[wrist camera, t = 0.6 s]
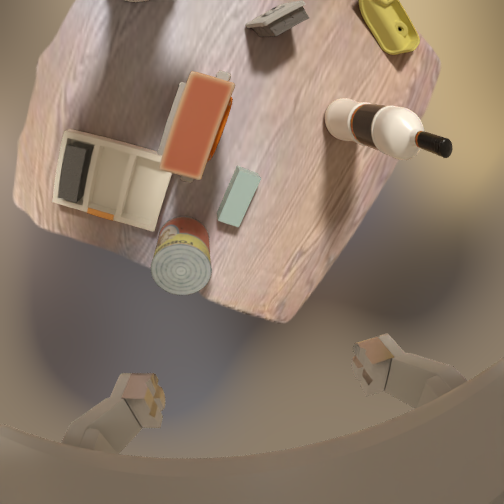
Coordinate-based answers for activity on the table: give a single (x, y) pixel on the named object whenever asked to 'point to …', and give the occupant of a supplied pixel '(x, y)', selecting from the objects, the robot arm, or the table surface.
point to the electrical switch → (279, 19)
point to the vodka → (383, 129)
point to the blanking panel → (238, 196)
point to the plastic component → (390, 25)
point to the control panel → (195, 124)
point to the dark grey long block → (75, 171)
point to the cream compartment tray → (117, 181)
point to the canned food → (182, 257)
